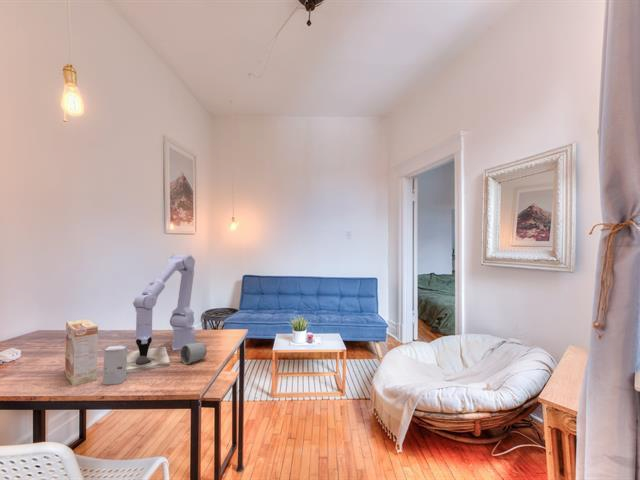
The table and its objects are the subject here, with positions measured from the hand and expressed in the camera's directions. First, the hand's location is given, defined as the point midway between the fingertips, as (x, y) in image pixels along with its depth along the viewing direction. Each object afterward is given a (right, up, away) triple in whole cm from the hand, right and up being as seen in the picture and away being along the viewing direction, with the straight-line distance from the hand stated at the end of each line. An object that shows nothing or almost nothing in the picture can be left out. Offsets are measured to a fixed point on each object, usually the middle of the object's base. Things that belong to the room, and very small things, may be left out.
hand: (143, 356), depth 124 cm
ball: (+1, 0, -3) cm, 4 cm away
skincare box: (0, -2, -18) cm, 18 cm away
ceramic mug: (+19, -3, +3) cm, 19 cm away
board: (-1, -2, +2) cm, 3 cm away
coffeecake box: (-15, -2, -14) cm, 21 cm away
